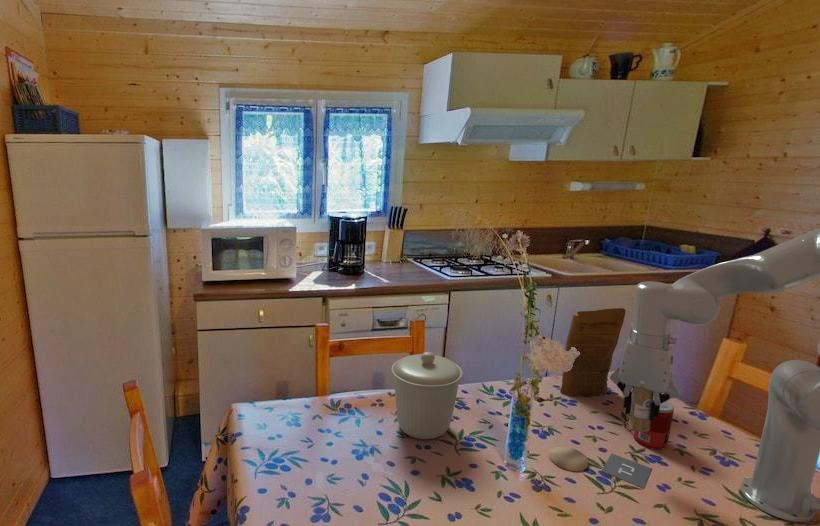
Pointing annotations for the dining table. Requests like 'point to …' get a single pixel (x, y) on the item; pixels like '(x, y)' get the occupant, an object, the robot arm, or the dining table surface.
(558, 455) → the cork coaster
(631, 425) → the sprinkles bottle
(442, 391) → the canister
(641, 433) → the canned food
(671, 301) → the robot arm
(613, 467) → the tile
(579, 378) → the pancake mix bag
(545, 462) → the dining table surface
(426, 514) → the dining table surface
